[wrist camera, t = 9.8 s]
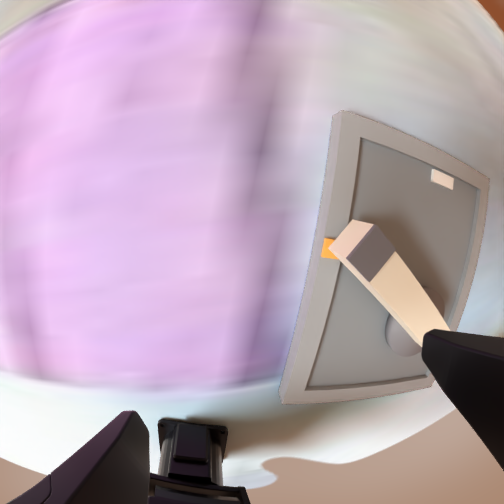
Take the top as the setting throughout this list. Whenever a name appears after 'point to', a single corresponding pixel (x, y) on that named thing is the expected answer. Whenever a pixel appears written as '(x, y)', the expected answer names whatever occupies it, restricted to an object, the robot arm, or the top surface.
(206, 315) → the top surface
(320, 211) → the board
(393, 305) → the long cream stick
